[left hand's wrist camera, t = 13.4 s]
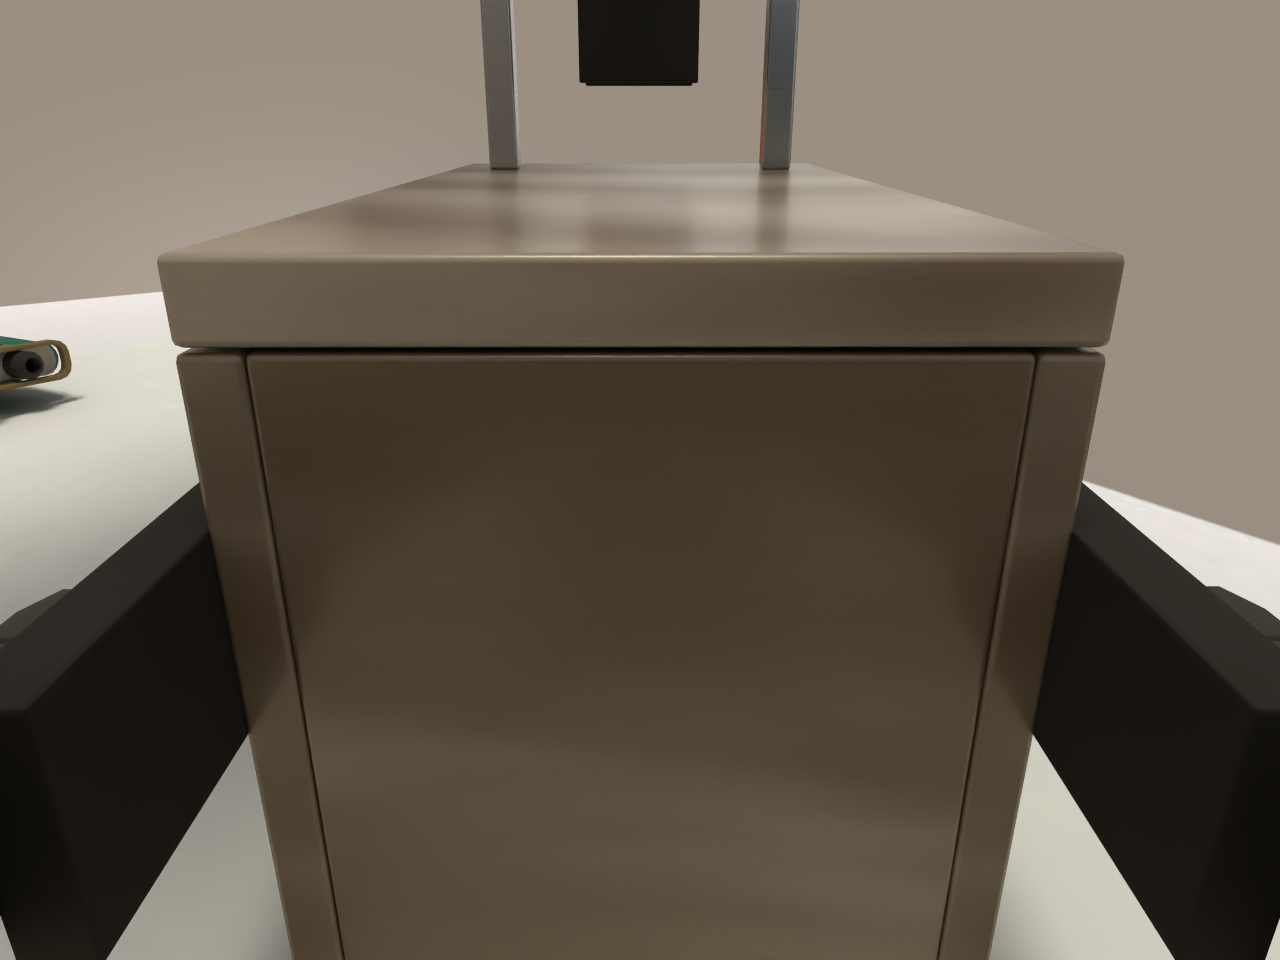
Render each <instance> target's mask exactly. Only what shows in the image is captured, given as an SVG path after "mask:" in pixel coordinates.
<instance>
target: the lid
mask: <svg viewBox="0 0 1280 960" xmlns="http://www.w3.org/2000/svg"><path fill="white" fill-rule="evenodd" d="M799 4H800V0H767V8H766V30H765V51H764V73H763V96H762V118H761V139H760V160H759V164H521V161H520V139H519V118H518V96H517V74H516V53H515V32H514V9H513V0H480V5H481V22H482V39H483V56H484V74H485V91H486V108H487V125H488V142H489V160H490V164H471V165H467V166H464V167H460V168H457V169H454V170H450V171H447V172H443V173H440V174H436V175H433V176H429V177H426V178H422V179H419V180H416V181H412V182H409V183H405V184H402V185H398V186H395V187H391V188H388V189H384V190H381V191H377V192H374V193H371V194H367V195H364V196H360V197H357V198H353V199H350V200H346V201H343V202H339V203H336V204H333V205H329V206H326V207H322V208H319V209H315V210H312V211H308V212H305V213H301V214H298V215H295V216H291V217H288V218H284V219H281V220H277V221H274V222H270V223H267V224H263V225H260V226H257V227H253V228H249V229H246V230H243V231H239V232H236V233H232V234H229V235H225V236H222V237H219V238H215V239H211V240H208V241H205V242H201V243H198V244H194V245H191V246H187V247H184V248H180V249H177V250H174V251H170V252H167V253H164V254H162V255H160V256H159V257H158V262H157V265H158V270H159V275H160V280H161V285H162V290H163V296H164V301H165V306H166V311H167V316H168V321H169V327H170V332H171V337H172V341H173V342H174V344H175V345H177V346H180V347H183V348H478V347H1100V346H1104V345H1107V343H1108V341H1109V339H1110V335H1111V330H1112V324H1113V319H1114V314H1115V309H1116V304H1117V298H1118V293H1119V288H1120V283H1121V278H1122V273H1123V268H1124V257H1123V256H1122V255H1120V254H1118V253H1116V252H1113V251H1109V250H1106V249H1102V248H1099V247H1095V246H1092V245H1088V244H1085V243H1081V242H1078V241H1074V240H1071V239H1067V238H1064V237H1060V236H1057V235H1053V234H1050V233H1046V232H1043V231H1040V230H1036V229H1033V228H1029V227H1025V226H1022V225H1019V224H1015V223H1012V222H1008V221H1005V220H1001V219H997V218H994V217H991V216H987V215H983V214H980V213H977V212H973V211H970V210H966V209H963V208H959V207H956V206H952V205H949V204H945V203H942V202H938V201H935V200H931V199H928V198H924V197H921V196H917V195H914V194H910V193H907V192H903V191H900V190H896V189H893V188H890V187H886V186H882V185H879V184H875V183H872V182H869V181H865V180H862V179H858V178H855V177H851V176H848V175H844V174H841V173H837V172H834V171H830V170H827V169H823V168H820V167H816V166H813V165H809V164H790V159H791V142H792V125H793V107H794V90H795V73H796V55H797V38H798V21H799Z"/></svg>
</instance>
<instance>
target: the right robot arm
mask: <svg viewBox="0 0 1280 960" xmlns="http://www.w3.org/2000/svg"><path fill="white" fill-rule="evenodd" d="M699 8H700V0H578V34H579V79H580V82H581V83H586V85H587V86H691V85H692V83H697V82H698V54H699Z"/></svg>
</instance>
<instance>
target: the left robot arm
mask: <svg viewBox="0 0 1280 960" xmlns="http://www.w3.org/2000/svg"><path fill="white" fill-rule="evenodd" d="M247 735H248V728H247V723H246V718H245V713H244V708H243V703H242V697H241V692H240V687H239V682H238V677H237V672H236V667H235V661H234V656H233V651H232V646H231V641H230V636H229V631H228V626H227V620H226V615H225V610H224V605H223V600H222V595H221V590H220V585H219V579H218V574H217V569H216V564H215V559H214V554H213V549H212V543H211V538H210V533H209V528H208V523H207V518H206V513H205V508H204V502H203V497H202V492H201V487H200V482H199V483H198V484H197V485H195V486H194V487H193V488H192V489H191V490H189V491H188V492H187V493H186V494H185V495H183V496H182V497H181V498H180V499H179V500H178V501H176V502H175V503H174V504H173V505H172V506H170V507H169V508H168V509H167V510H166V511H164V512H163V513H162V514H161V515H160V516H158V517H157V518H156V519H155V520H154V521H153V522H151V523H150V524H149V525H148V526H147V527H145V528H144V529H143V530H142V531H141V532H139V533H138V534H137V535H136V536H135V537H133V538H132V539H131V540H130V541H129V542H127V543H126V544H125V545H124V546H123V547H122V548H120V549H119V550H118V551H117V552H116V553H114V554H113V555H112V556H111V557H110V558H108V559H107V560H106V561H105V562H104V563H102V564H101V565H100V566H99V567H98V568H97V569H95V570H94V571H93V572H92V573H91V574H89V575H88V576H87V577H86V578H85V579H83V580H82V581H81V582H80V583H79V584H77V585H76V586H75V587H74V588H73V589H63V590H61V591H59V592H57V593H55V594H53V595H51V596H49V597H47V598H45V599H43V600H41V601H38V602H36V603H34V604H32V605H30V606H28V607H26V608H24V609H22V610H20V611H18V612H16V613H15V614H14V615H13V616H11V617H10V618H9V619H8V620H6V621H5V622H4V623H3V624H1V625H0V916H1V918H2V921H3V924H4V926H5V929H6V932H7V935H8V938H9V941H10V943H11V946H12V949H13V952H14V955H15V958H16V960H106V959H107V957H108V956H109V954H110V953H111V951H112V949H113V948H114V946H115V945H116V943H117V941H118V940H119V938H120V937H121V935H122V934H123V932H124V930H125V929H126V927H127V926H128V924H129V922H130V921H131V919H132V918H133V916H134V914H135V913H136V911H137V910H138V908H139V907H140V905H141V903H142V902H143V900H144V899H145V897H146V895H147V894H148V892H149V891H150V889H151V887H152V886H153V884H154V883H155V881H156V880H157V878H158V876H159V875H160V873H161V872H162V870H163V868H164V867H165V865H166V864H167V862H168V860H169V859H170V857H171V856H172V854H173V853H174V851H175V849H176V848H177V846H178V845H179V843H180V841H181V840H182V838H183V837H184V835H185V833H186V832H187V830H188V829H189V827H190V826H191V824H192V822H193V821H194V819H195V818H196V816H197V814H198V813H199V811H200V810H201V808H202V806H203V805H204V803H205V802H206V800H207V799H208V797H209V795H210V794H211V792H212V791H213V789H214V787H215V786H216V784H217V783H218V781H219V779H220V778H221V776H222V775H223V773H224V772H225V770H226V768H227V767H228V765H229V764H230V762H231V760H232V759H233V757H234V756H235V754H236V752H237V751H238V749H239V748H240V746H241V745H242V743H243V741H244V740H245V738H246V737H247ZM1033 735H1034V737H1035V738H1036V740H1037V741H1038V743H1039V745H1040V746H1041V748H1042V749H1043V751H1044V753H1045V754H1046V756H1047V757H1048V759H1049V760H1050V762H1051V764H1052V765H1053V767H1054V768H1055V770H1056V772H1057V773H1058V775H1059V776H1060V778H1061V779H1062V781H1063V783H1064V784H1065V786H1066V787H1067V789H1068V791H1069V792H1070V794H1071V795H1072V797H1073V799H1074V800H1075V802H1076V803H1077V805H1078V806H1079V808H1080V810H1081V811H1082V813H1083V814H1084V816H1085V818H1086V819H1087V821H1088V822H1089V824H1090V826H1091V827H1092V829H1093V830H1094V832H1095V833H1096V835H1097V837H1098V838H1099V840H1100V841H1101V843H1102V845H1103V846H1104V848H1105V849H1106V851H1107V853H1108V854H1109V856H1110V857H1111V859H1112V860H1113V862H1114V864H1115V865H1116V867H1117V868H1118V870H1119V872H1120V873H1121V875H1122V876H1123V878H1124V880H1125V881H1126V883H1127V884H1128V886H1129V887H1130V889H1131V891H1132V892H1133V894H1134V895H1135V897H1136V899H1137V900H1138V902H1139V903H1140V905H1141V906H1142V908H1143V910H1144V911H1145V913H1146V914H1147V916H1148V918H1149V919H1150V921H1151V922H1152V924H1153V926H1154V927H1155V929H1156V930H1157V932H1158V933H1159V935H1160V937H1161V938H1162V940H1163V941H1164V943H1165V945H1166V946H1167V948H1168V949H1169V951H1170V953H1171V954H1172V956H1173V957H1174V959H1175V960H1265V958H1266V956H1267V953H1268V950H1269V947H1270V944H1271V941H1272V939H1273V936H1274V933H1275V930H1276V927H1277V924H1278V922H1279V919H1280V620H1279V619H1277V618H1276V617H1275V616H1274V615H1272V614H1271V613H1270V612H1269V611H1267V610H1266V609H1264V608H1262V607H1260V606H1258V605H1256V604H1254V603H1252V602H1250V601H1248V600H1246V599H1244V598H1242V597H1240V596H1238V595H1236V594H1234V593H1232V592H1230V591H1227V590H1225V589H1223V588H1221V587H1219V586H1205V585H1204V584H1202V583H1201V582H1200V581H1199V580H1198V579H1196V578H1195V577H1194V576H1193V575H1192V574H1191V573H1189V572H1188V571H1187V570H1186V569H1185V568H1183V567H1182V566H1181V565H1180V564H1179V563H1177V562H1176V561H1175V560H1174V559H1173V558H1171V557H1170V556H1169V555H1168V554H1167V553H1166V552H1164V551H1163V550H1162V549H1161V548H1160V547H1158V546H1157V545H1156V544H1155V543H1154V542H1152V541H1151V540H1150V539H1149V538H1148V537H1146V536H1145V535H1144V534H1143V533H1142V532H1140V531H1139V530H1138V529H1137V528H1136V527H1135V526H1133V525H1132V524H1131V523H1130V522H1129V521H1127V520H1126V519H1125V518H1124V517H1123V516H1121V515H1120V514H1119V513H1118V512H1117V511H1115V510H1114V509H1113V508H1112V507H1111V506H1110V505H1108V504H1107V503H1106V502H1105V501H1104V500H1102V499H1101V498H1100V497H1099V496H1098V495H1096V494H1095V493H1094V492H1093V491H1092V490H1090V489H1089V488H1088V487H1087V486H1086V485H1084V484H1083V483H1082V485H1081V490H1080V495H1079V500H1078V505H1077V510H1076V516H1075V521H1074V526H1073V531H1072V535H1071V541H1070V546H1069V551H1068V556H1067V561H1066V566H1065V571H1064V576H1063V582H1062V587H1061V592H1060V597H1059V602H1058V607H1057V612H1056V617H1055V623H1054V628H1053V633H1052V638H1051V643H1050V648H1049V653H1048V658H1047V663H1046V669H1045V674H1044V679H1043V684H1042V689H1041V694H1040V699H1039V704H1038V710H1037V715H1036V720H1035V725H1034V730H1033Z"/></svg>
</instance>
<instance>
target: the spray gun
mask: <svg viewBox="0 0 1280 960" xmlns="http://www.w3.org/2000/svg"><path fill="white" fill-rule="evenodd" d="M51 345H54V346H55V347H56V348H57V349H58V352H59V355H60V359H61V370H60V371H59V373H57V374H55V375H50V376H45V377H40V378H37V377H39V376H44V375H49V374H51V373H53V372H54V370H55V369H56V368H57V365H58V354H57V352H56V350H55V349H54V348H53V347H52V346H51ZM70 371H71V359H70V355H69V351H68V349H67V347H66V345H65V344H63V343H62V342H60V341H56V340H42V341H29V340H22V339H16V338H9V337H2V336H0V391H4V390H9V389H14V388H19V387H24V386H29V385H35V384H40V383H45V382H50V381H55V380H61V379H63V378H65V377H67V376H68V375H69V373H70ZM23 379H29V380H24V381H22V380H23Z"/></svg>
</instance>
